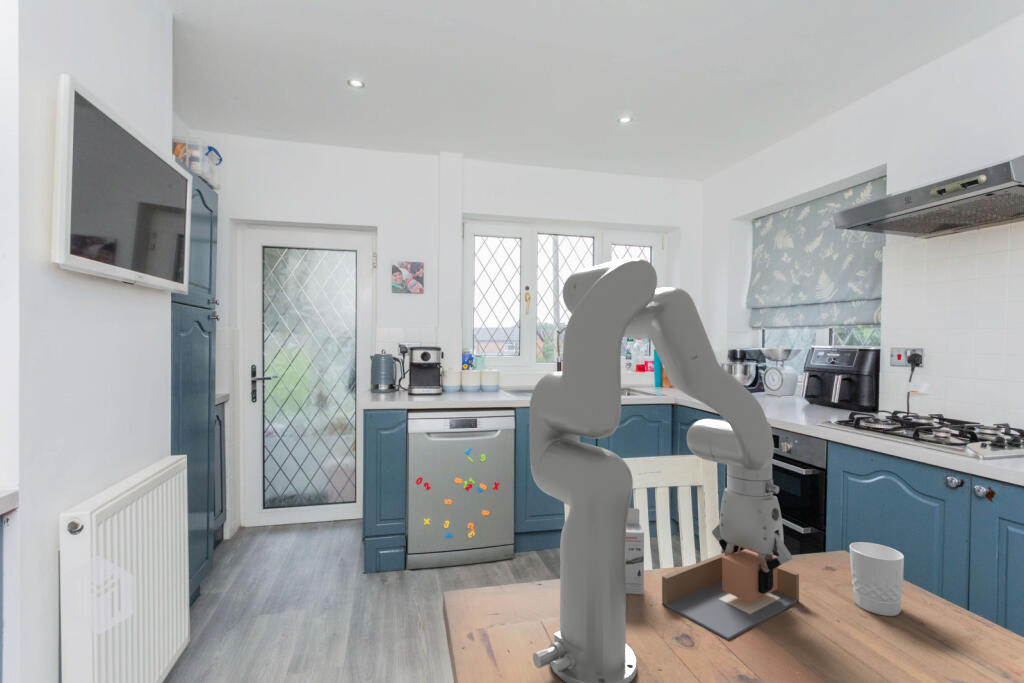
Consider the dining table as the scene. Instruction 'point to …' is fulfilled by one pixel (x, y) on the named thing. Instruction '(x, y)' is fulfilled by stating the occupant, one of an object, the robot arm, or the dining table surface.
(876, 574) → the white cup
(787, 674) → the dining table surface
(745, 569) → the rust block
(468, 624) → the dining table surface
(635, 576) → the ink box
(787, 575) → the arena
